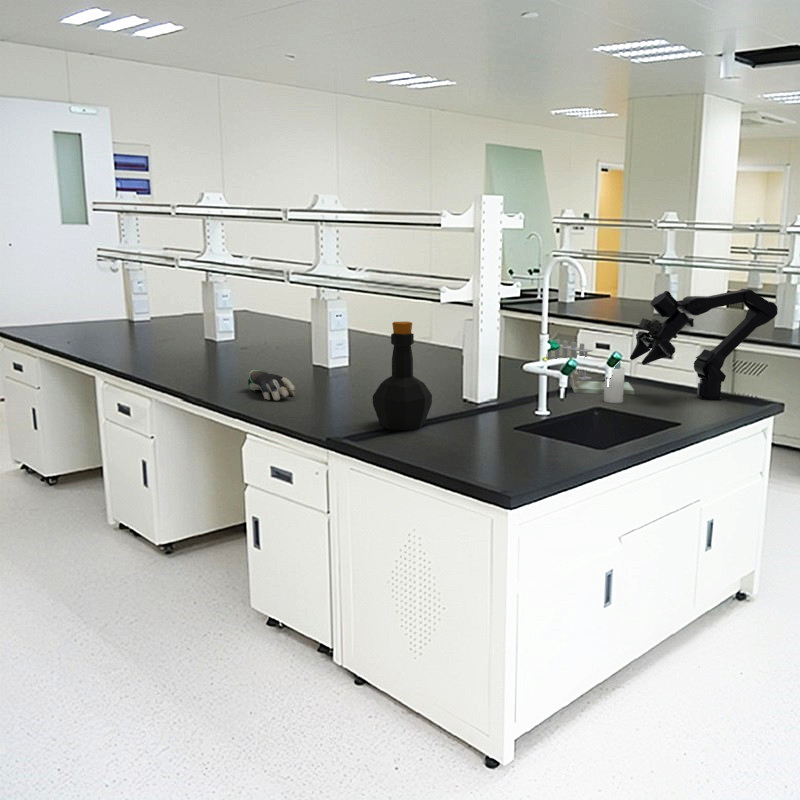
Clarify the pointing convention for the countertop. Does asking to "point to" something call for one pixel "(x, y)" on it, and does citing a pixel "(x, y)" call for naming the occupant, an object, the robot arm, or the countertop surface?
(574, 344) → the test tube rack
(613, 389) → the white bottle
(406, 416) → the bottle
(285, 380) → the glove
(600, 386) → the shelf board
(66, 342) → the countertop surface
